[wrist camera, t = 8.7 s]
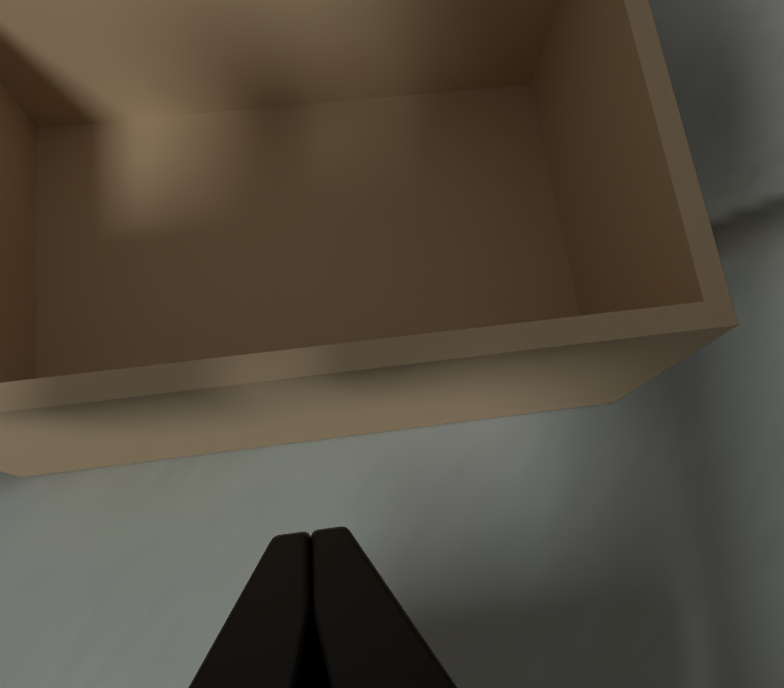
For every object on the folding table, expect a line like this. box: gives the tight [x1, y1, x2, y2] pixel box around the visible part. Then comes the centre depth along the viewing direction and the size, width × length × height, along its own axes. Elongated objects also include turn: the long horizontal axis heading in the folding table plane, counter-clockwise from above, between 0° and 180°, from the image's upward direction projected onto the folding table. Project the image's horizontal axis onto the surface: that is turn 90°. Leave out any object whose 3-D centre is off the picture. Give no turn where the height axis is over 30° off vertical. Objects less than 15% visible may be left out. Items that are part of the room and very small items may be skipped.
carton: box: [0, 0, 738, 477], centre depth 20 cm, size 12×18×8 cm, turn 98°
